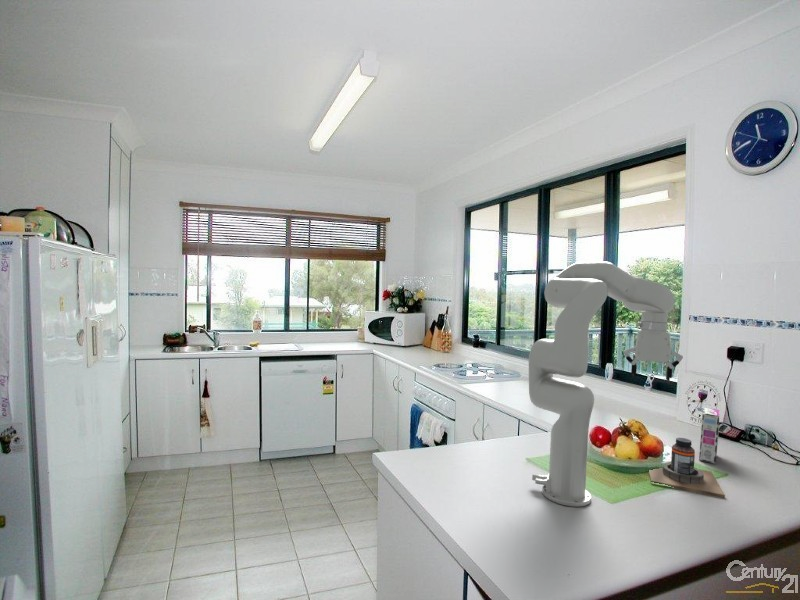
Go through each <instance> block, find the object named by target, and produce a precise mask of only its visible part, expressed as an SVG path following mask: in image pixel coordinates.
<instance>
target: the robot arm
mask: <svg viewBox="0 0 800 600" xmlns="http://www.w3.org/2000/svg"><path fill="white" fill-rule="evenodd" d="M543 294H544V295H543V296H544V299H545V301H546V302H547V304H549V306H551V307H554V308H560V309H563V310H562V311H561V312H560V313H559V314H558V316H557V318H556V320H555V324H554V337H553V339H552V338H551V339H550V338H541V339H538V340H536V341H535V342H534V343H533V345H532V346H531V348H530V350H529V354H528V396H529V399H530V401H531V403H532V405H534V407H536V408H538V409H542V410H544V411H548V412H551V413H554V414H556V415H559V417H558V418H557V420H556V421H555V422H554V424H553V425H552V427H551V429H550V444H549V445H550V447H549V462H548V463H549V467H548V474H544V475H542V474H539V473H535V472H533V473H532V478H531V479H532V481H535V484H537V485H542V488H541V489H542V491H541V492H542V494H543V496H544V497H546V498H547V499H548V500H549V501H552V502H554V503H556V504H559V505H563V506H565V507H566V506H567V507H576V508H577V507H584V506H588V505H590V503H592V495H591V493H590V492H589V491H588V490H586V485H587V466H588V465H587V464H588V449H589V448H588V445H589V443H588V442H589V428H590V421H591V417H592V413H593V410H594V404H595V396H594V393H593V391H592V390H591V388H589V387H588V386H587V385H585V384H582V383H580V382H576V381H573V380H567V379H563V378H558V377H554V375H557V376H562V377H565V378H575V379H576V378H578V379H579V378H581V377H583V376H585V374H586V373H587V370H588V367H589V365H588V363H589V329H590V328H589V327H590V323H591V322H592V319H593V318H594V316H595V314H596V313H597V312H598V311H599V310H600V308H601V307H603V305H604V303H605V302H606V300H607V297H609V298H611V299H612V300H615V301H617V302H622V303H623V305H624V307H625V309H627V310H628V311H632V312H635V313H637V312H638V313H641V316H640V317H641V318H640V319H641V320H640V321H638V322H636V323H635V327H638V328H640V329H639V330H638V331H637V334H636V340H635V345H634V346H633V347H630V348H627V349H625V350H623V355H624V356H625V359H626V360H627V362H629V363H630V364H631V369H630V370H631V371H630V374H631V375H632V376H633V378H636V377H637V369H638V368H637V363H638V362H639V361H642V362H652V363H661V364H663V363H665V364H666V365H667V366H666V368H665V369H666V371H665V380H666V381H670V379H673V369H674V368H675V367H677V366H678V365H680V363H681V362H682V360H683V359H684V357H683V355H682V354H680V353H678V352H676V351H674V350H673V349H672V348H671V347H672V346H671V335H670V334H671V333H670V332H668V315H669V313H670V312H671V311H673V309H674V308H675V304H676V299H675V298H676V297H675V296H674V293H673V292H672V291H671V289H670V288H668V287H667V286H666V285H664V284H662V283H659V282H656V281H652V280H649V279H646V278H642V277H638V276H636V275H631V274H629V273H628V272H626V271H624V270H623V269H622V268H621V267H618V266H616V265H615V264H614V263H612V262H610V261H602V260H600V261H599V260H598V261H596V260H595V261H578V262H575V263H573V264H571V265H569V266H567V267H565V269H563V270H562V271H560V272H559V273H557V274H556V275H555V276H553V277H552V278H551V279H550V280H549V281H548V282H547V284H546V286H545V288H544V293H543ZM633 352H634V358H632V357H631V356H630V353H633ZM671 355H672V356H674V357H676V358H675V359H674V361H672V362H670V361H671V357H672V356H671Z"/></svg>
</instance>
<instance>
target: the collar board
mask: <svg viewBox="0 0 800 600" xmlns="http://www.w3.org/2000/svg"><path fill="white" fill-rule="evenodd" d="M649 475H650V477H649V480H650V479H651V481H650V483H651V482H654V483H659V484H665V485H668V486H671V487H674V488H675V490H679V491H683V492H684V491H685V492H690V493H693V494H694V493H695V494H701V495H704V496H711V497H715V498H721V499H726V494H725V492H724V490H723V489H722V487H721V485H720V484H719V482H718V480H717V478H716V477H715V474H713V472H712V470H711V471H710V470H705V469H699V468H696V467H695V466H694V475H685V474H680V473H677V472H674V471H672V470H671V464H669V465H665V466H663V468H659V469H653V470H649V472H648V476H649ZM674 488H673V489H674Z"/></svg>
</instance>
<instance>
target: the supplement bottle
mask: <svg viewBox="0 0 800 600" xmlns="http://www.w3.org/2000/svg"><path fill="white" fill-rule="evenodd" d="M695 454H696V452H695V448H694V447H692V440H691V439H688V438H685V437H676V438H675V443H674V444H672V446H671V456H670V457H671V458H670V459H671V460H670V463H671V470H672V471H674V472H677V473H680V474H685V475H694V467H695Z"/></svg>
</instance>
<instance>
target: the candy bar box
mask: <svg viewBox="0 0 800 600" xmlns="http://www.w3.org/2000/svg"><path fill="white" fill-rule="evenodd" d="M700 425H701V427H700V441H699V442H700V443H699V456H698V458H699V459H698V460H699V461H702V462H705V463H710V464H717V463H716V462H717V457H718V454H717V453H718V444H719V443H718V442H719V431H720V430H719V429H720V410H719V409H715V408H708V407H702V414H701V424H700Z"/></svg>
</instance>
